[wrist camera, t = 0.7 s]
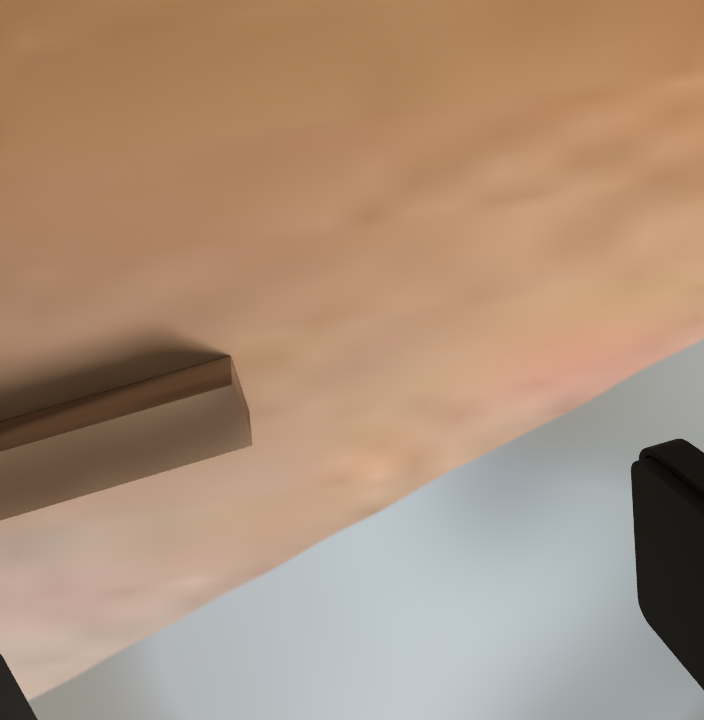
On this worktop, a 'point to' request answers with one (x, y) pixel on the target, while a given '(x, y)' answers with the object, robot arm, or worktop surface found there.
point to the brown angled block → (121, 436)
